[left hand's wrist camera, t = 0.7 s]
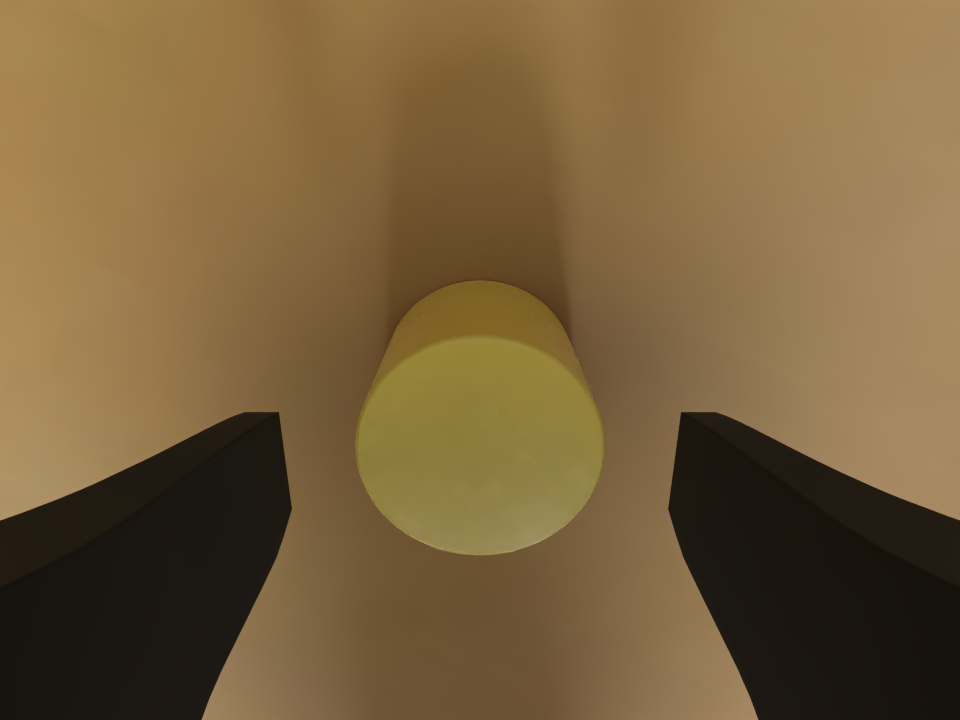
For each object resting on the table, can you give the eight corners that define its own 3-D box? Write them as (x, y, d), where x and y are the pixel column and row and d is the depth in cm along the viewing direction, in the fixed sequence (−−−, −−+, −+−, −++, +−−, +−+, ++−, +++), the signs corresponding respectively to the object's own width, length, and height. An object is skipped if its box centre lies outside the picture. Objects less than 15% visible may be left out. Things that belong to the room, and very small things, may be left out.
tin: (424, 249, 14) (402, 296, 10) (605, 321, 15) (650, 390, 11) (362, 417, 16) (322, 513, 12) (528, 476, 16) (543, 585, 12)
